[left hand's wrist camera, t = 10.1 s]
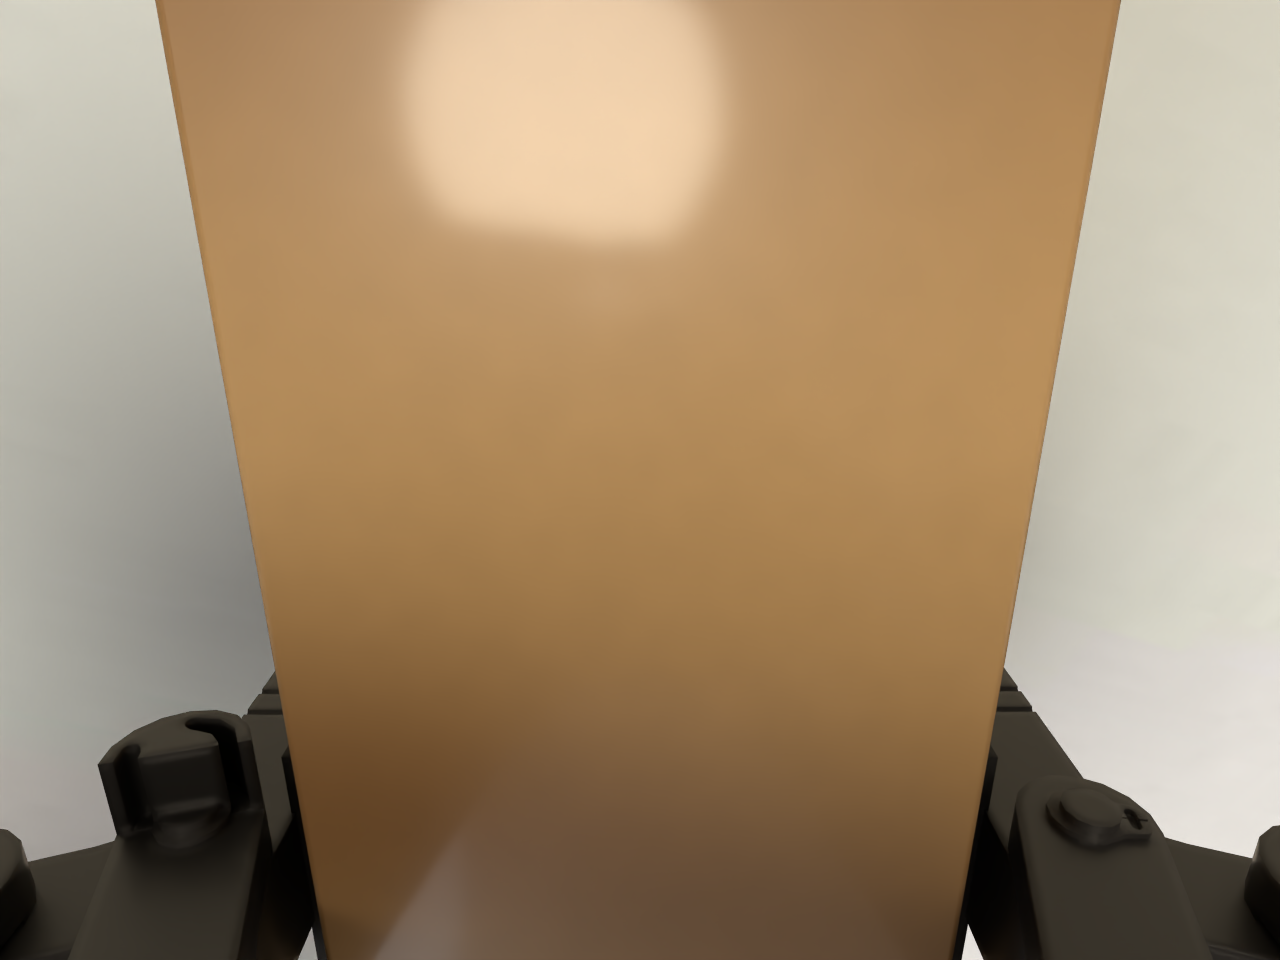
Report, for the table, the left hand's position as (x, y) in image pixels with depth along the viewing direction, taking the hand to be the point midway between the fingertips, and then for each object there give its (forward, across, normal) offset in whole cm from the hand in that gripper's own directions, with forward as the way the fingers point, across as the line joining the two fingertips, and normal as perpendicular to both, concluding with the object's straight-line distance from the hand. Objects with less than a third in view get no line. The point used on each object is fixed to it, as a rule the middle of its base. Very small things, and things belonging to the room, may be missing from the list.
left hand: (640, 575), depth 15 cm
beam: (+1, 0, -26) cm, 26 cm away
